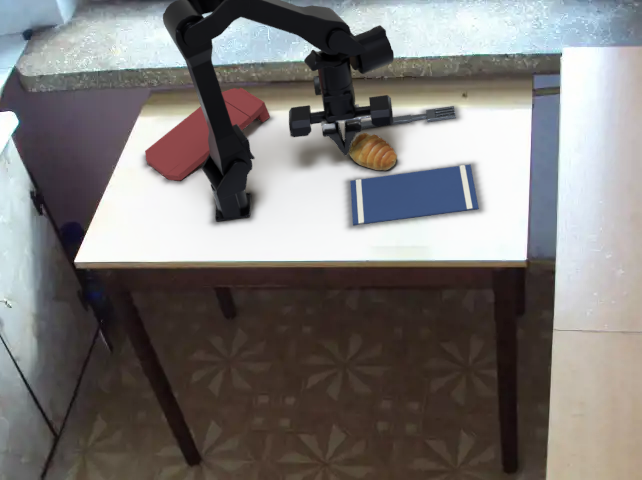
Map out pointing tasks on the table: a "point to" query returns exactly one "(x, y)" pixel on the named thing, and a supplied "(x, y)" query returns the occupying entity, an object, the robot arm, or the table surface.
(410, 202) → the napkin
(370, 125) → the fork
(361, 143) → the pastry
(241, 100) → the red angular block
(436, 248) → the table surface
